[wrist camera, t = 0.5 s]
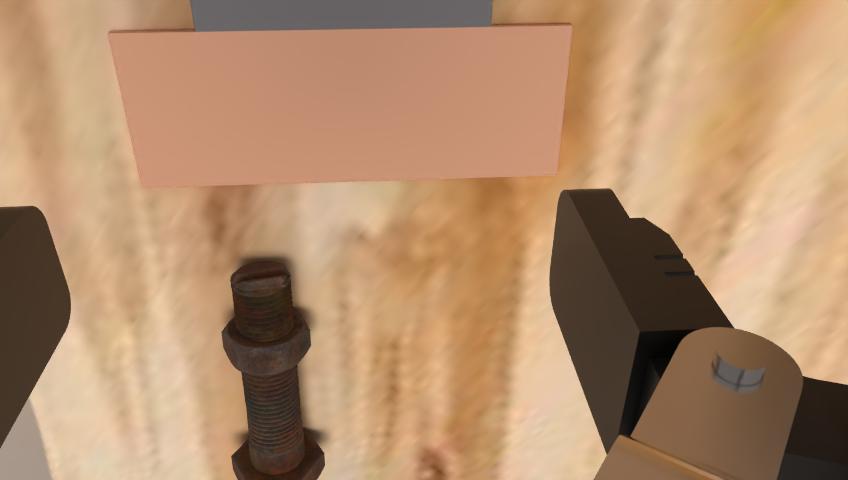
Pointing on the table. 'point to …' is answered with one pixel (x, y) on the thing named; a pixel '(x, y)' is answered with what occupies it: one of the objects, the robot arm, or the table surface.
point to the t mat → (342, 93)
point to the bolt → (270, 376)
